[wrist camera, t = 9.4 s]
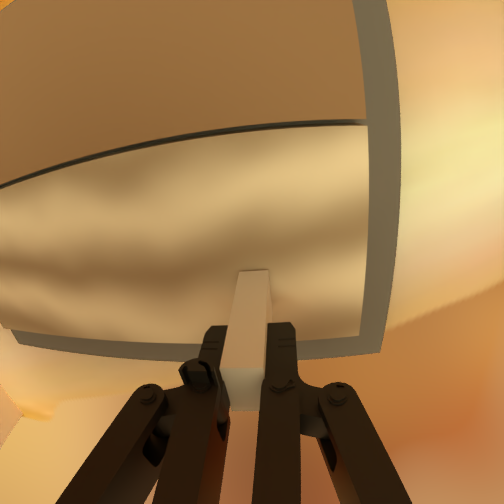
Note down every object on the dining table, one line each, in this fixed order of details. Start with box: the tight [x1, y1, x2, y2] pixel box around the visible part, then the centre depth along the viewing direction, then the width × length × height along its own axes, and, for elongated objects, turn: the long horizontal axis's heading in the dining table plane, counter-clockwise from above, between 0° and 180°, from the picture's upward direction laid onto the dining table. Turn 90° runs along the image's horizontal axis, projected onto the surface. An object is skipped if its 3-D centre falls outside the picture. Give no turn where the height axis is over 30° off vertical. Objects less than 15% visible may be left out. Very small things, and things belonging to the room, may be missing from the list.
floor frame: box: [0, 0, 401, 362], centre depth 16 cm, size 30×35×3 cm
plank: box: [0, 123, 369, 344], centre depth 18 cm, size 12×30×2 cm, turn 97°
